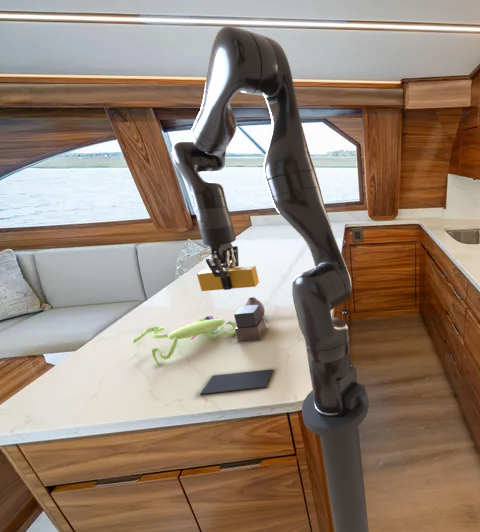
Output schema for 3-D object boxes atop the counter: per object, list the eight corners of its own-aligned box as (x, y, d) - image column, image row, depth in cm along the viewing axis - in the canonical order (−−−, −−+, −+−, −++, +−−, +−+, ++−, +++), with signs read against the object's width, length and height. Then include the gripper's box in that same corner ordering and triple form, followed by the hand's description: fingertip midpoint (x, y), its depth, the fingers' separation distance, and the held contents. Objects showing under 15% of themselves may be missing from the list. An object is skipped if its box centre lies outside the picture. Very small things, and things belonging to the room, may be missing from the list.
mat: (273, 370, 84) (273, 369, 84) (265, 387, 77) (265, 386, 77) (213, 376, 82) (212, 375, 82) (200, 395, 75) (200, 393, 75)
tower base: (266, 329, 105) (263, 316, 104) (260, 340, 99) (257, 326, 97) (245, 331, 105) (242, 318, 103) (238, 342, 98) (234, 328, 96)
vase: (241, 322, 110) (236, 301, 108) (255, 314, 117) (251, 293, 114) (256, 325, 108) (252, 303, 105) (269, 316, 114) (265, 295, 112)
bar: (259, 282, 84) (255, 265, 83) (255, 286, 81) (251, 269, 80) (207, 286, 83) (202, 270, 82) (201, 291, 80) (196, 273, 79)
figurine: (134, 347, 97) (128, 332, 95) (223, 316, 115) (219, 303, 113) (145, 371, 85) (138, 355, 83) (242, 332, 103) (238, 318, 102)
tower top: (261, 317, 103) (259, 304, 102) (256, 326, 98) (253, 312, 96) (243, 319, 103) (240, 306, 101) (237, 327, 97) (233, 314, 95)
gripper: (218, 229, 70) (234, 295, 76) (241, 219, 84) (254, 276, 89) (185, 231, 70) (203, 298, 75) (213, 221, 83) (228, 278, 89)
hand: (231, 286), depth 82 cm, fingers closed on bar, 3 cm apart
